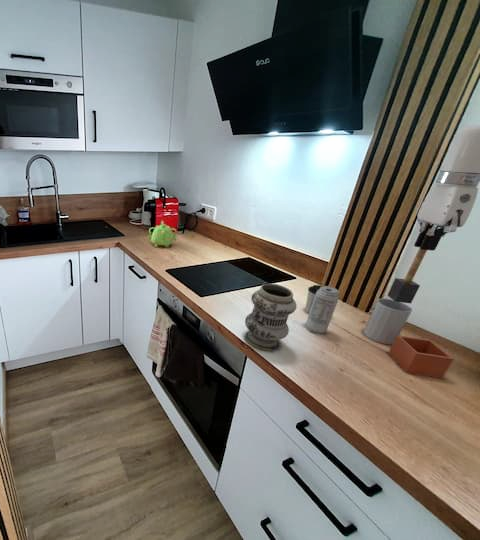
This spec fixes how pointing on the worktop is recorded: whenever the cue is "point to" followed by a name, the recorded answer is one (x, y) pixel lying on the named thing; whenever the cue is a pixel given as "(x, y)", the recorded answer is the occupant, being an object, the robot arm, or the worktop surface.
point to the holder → (420, 356)
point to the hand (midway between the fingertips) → (424, 247)
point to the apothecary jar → (269, 316)
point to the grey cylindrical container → (387, 320)
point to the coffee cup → (311, 297)
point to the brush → (407, 281)
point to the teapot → (162, 235)
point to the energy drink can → (322, 309)
